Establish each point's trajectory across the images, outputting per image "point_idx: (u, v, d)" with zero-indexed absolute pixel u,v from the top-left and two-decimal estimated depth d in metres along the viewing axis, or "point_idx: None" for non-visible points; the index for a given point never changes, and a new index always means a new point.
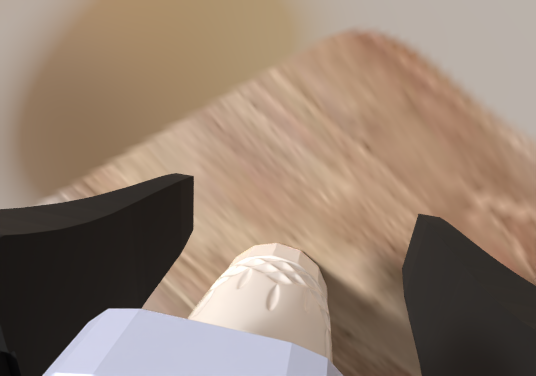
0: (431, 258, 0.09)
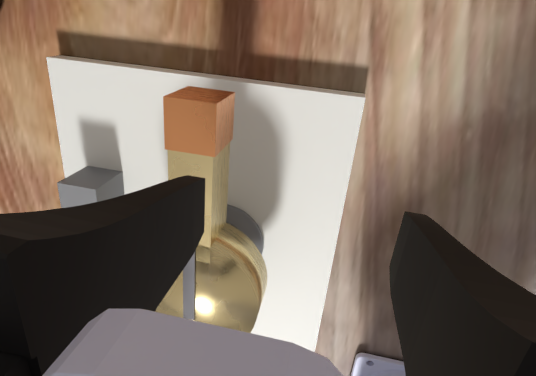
0: (415, 255, 0.10)
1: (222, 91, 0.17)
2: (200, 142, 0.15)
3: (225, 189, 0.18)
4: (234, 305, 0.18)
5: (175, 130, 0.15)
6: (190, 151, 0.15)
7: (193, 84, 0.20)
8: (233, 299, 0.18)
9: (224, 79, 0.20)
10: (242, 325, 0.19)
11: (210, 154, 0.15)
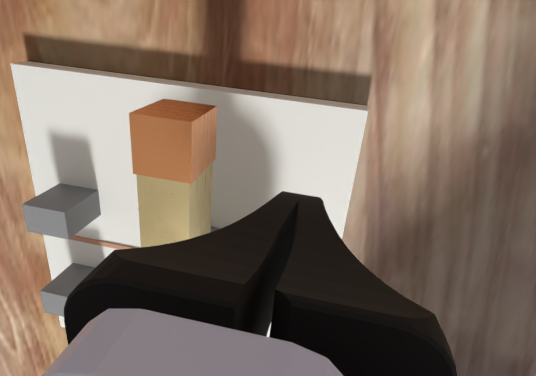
0: (294, 233, 0.10)
1: (202, 105, 0.14)
2: (174, 166, 0.13)
3: (207, 216, 0.16)
4: None
5: (144, 152, 0.13)
6: (163, 176, 0.13)
7: (174, 94, 0.18)
8: None
9: (208, 89, 0.18)
10: None
11: (186, 180, 0.13)
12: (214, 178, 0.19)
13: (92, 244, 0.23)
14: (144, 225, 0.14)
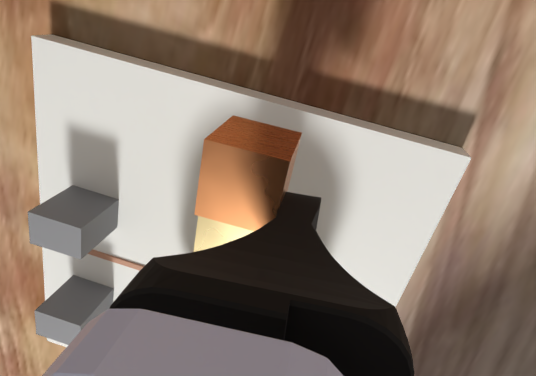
0: None
1: (284, 130, 0.11)
2: (252, 213, 0.10)
3: None
4: None
5: (215, 190, 0.10)
6: (234, 222, 0.10)
7: (235, 104, 0.15)
8: None
9: (279, 103, 0.15)
10: None
11: None
12: None
13: (101, 258, 0.20)
14: None
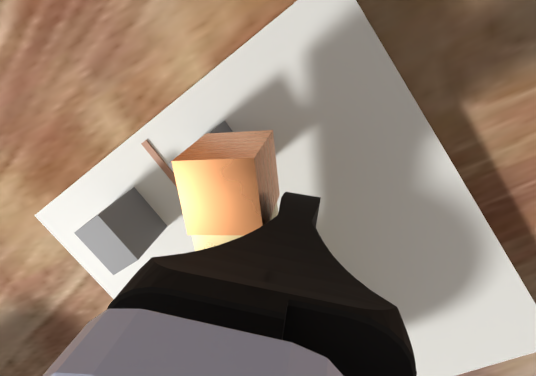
0: None
1: (255, 132, 0.11)
2: (238, 217, 0.10)
3: None
4: None
5: (198, 206, 0.10)
6: (225, 232, 0.10)
7: (451, 186, 0.14)
8: None
9: None
10: None
11: None
12: (384, 269, 0.16)
13: None
14: None
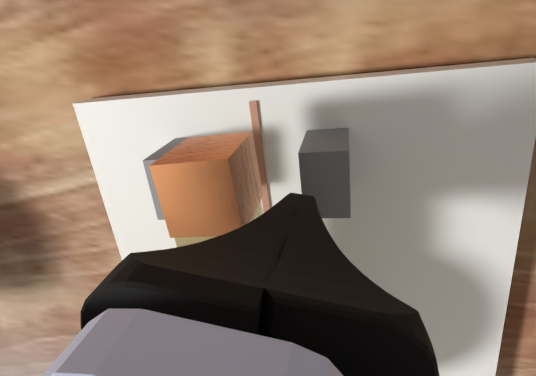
0: None
1: (234, 134, 0.12)
2: (217, 218, 0.10)
3: None
4: None
5: (178, 209, 0.10)
6: (206, 233, 0.10)
7: (498, 283, 0.16)
8: None
9: None
10: None
11: None
12: None
13: None
14: None
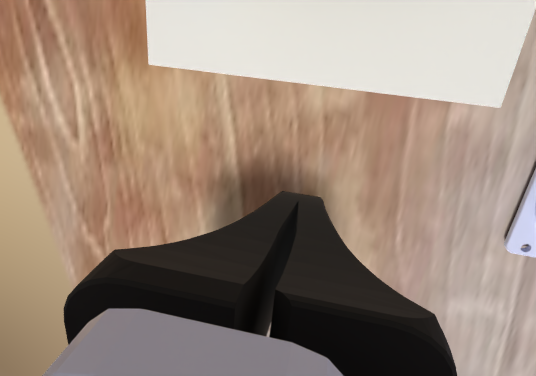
0: (294, 233, 0.10)
1: None
2: None
3: None
4: None
5: None
6: None
7: None
8: None
9: None
10: None
11: None
12: None
13: None
14: None
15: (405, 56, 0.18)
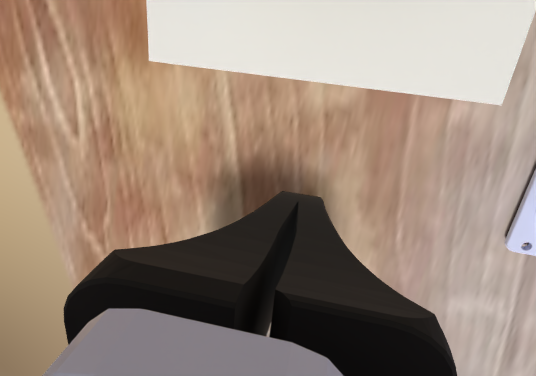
0: (294, 233, 0.10)
1: None
2: None
3: None
4: None
5: None
6: None
7: None
8: None
9: None
10: None
11: None
12: None
13: None
14: None
15: (406, 53, 0.18)
